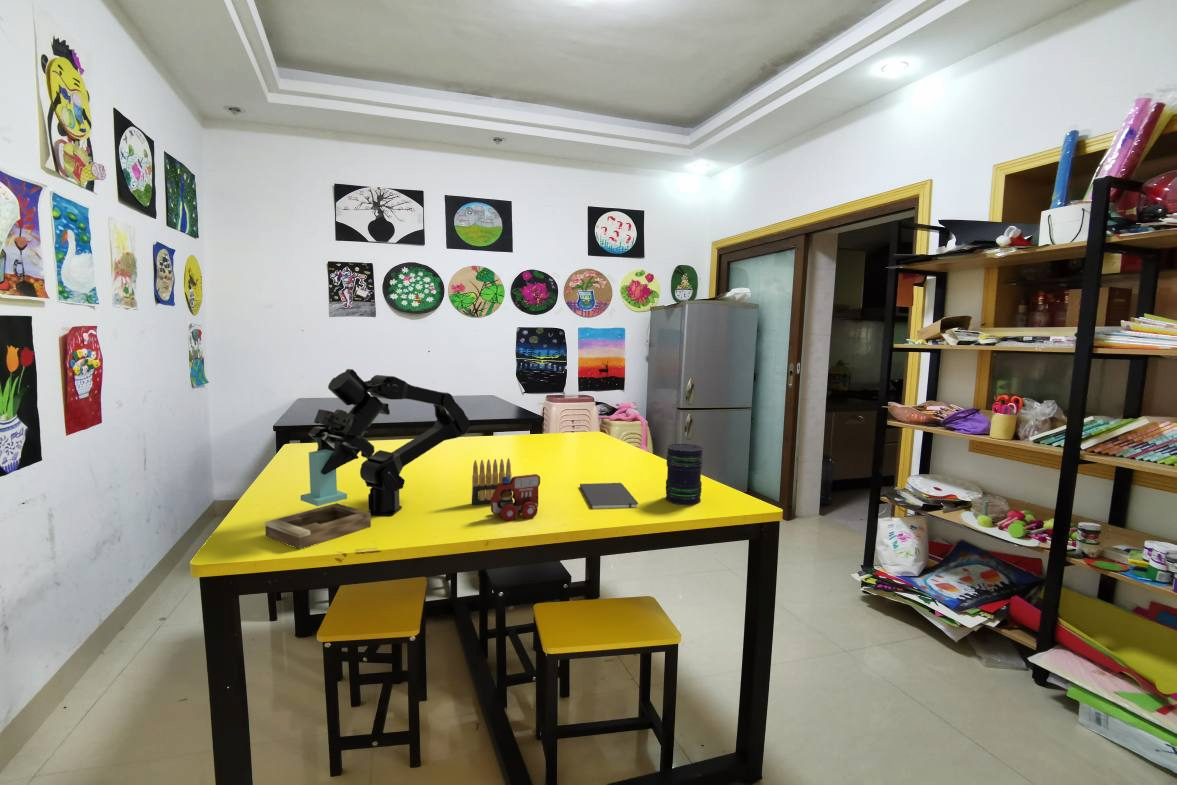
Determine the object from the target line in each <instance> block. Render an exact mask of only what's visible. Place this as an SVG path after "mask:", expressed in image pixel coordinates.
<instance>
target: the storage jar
mask: <svg viewBox="0 0 1177 785" xmlns="http://www.w3.org/2000/svg"><path fill="white" fill-rule="evenodd" d="M703 449H704V448H703V447H702V446H700V445H696V444H690V443H672V444H669V445H667V454H666V467H667V476H666V477H667V478H666V480H665V501H666V502H668V503H671V504H675V505H678V506H693V505H698V504H700V503H701V500H702V499H701V495H702V484H703V483H702V481H701V480H702V479H701V477H702V468H703V460H704V457H703Z"/></svg>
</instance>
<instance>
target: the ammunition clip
mask: <svg viewBox="0 0 1177 785" xmlns="http://www.w3.org/2000/svg"><path fill="white" fill-rule="evenodd" d="M499 462H500V463H499V469H498V461H497V459H496V458H494V461H493V464H492V465H491V460H490V459H487V462H486V469H485V462H484V460H483V459H481V460H480V464H479V467H478V462H477V460H476V459H475V460H474V462H473V467H472V478H471V481H472V482H471V483H472V484H471V485H472V486H471V487H472V488H471V506H485V505H491V498H492V496H493V494H494V492H495V490H496V488H497V486H498V484H500V483H502V479H503V478H504V477H505V476H508V477H509V478H510V480H511V479H512V477H513V476H512V467H511V466H512V464H511V459H510V458H507V460H506V467H505V462H504V460H503V458H501V459H500V461H499ZM505 468H506V469H505ZM478 469H479V470H478ZM498 470H499V472H498ZM509 490H511V489H509ZM511 492H512V493H513V491H512V490H511ZM500 498H501V497H500ZM511 499H513V498H511Z"/></svg>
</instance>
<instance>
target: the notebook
mask: <svg viewBox="0 0 1177 785" xmlns="http://www.w3.org/2000/svg"><path fill="white" fill-rule="evenodd" d="M579 488H580V490H581V489H582V490H581V492H582V491H583V492H582V494H583V493H584V494H583V495H585V496H584V497H585V500H586V501H587V503H588V505H589V507H590V508H591V509H592V510H593V509H595V510H596V509H621V508H622V509H624V508H625V509H626V508H627V509H628V508H630V509H631V508H638V507H639V506H638V505H639V502H638V501H637V500H636V498H635V497H634V496H633V495H632V494H631V492H630V491H629V490H628V489H627V488H626V487H625V485H624V484H623V483H621V482H601V483H600V482H599V483H597V482H596V483H595V482H594V483H580V484H579Z"/></svg>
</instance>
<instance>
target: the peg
mask: <svg viewBox="0 0 1177 785" xmlns="http://www.w3.org/2000/svg"><path fill="white" fill-rule="evenodd" d="M333 452H334V451H330V450H326V449H325V450H319V451H317V450H314V451H308V463H309V464H308V465H309V466H308V468H309V491H310V492H309V493H304V494H300V501H301V502H305V503H306V504H307V503H308V504H310V505H313V506H315V507H321V506H324V505H327V504H328V505H329V504H333V503H337V502H339V501H343V500H347V499H348V494H347V493H346V492H342V491H340V490H338V484H337V482H338V480H337V468H336V469H335V470H333V471H331V472H329V473H327V474H326V475H323V474H322V473H321V470H322V469H323V467H324V465H325V464H326V462H327V461H328V459H329V458H330V456H331V455H332V453H333Z"/></svg>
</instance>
